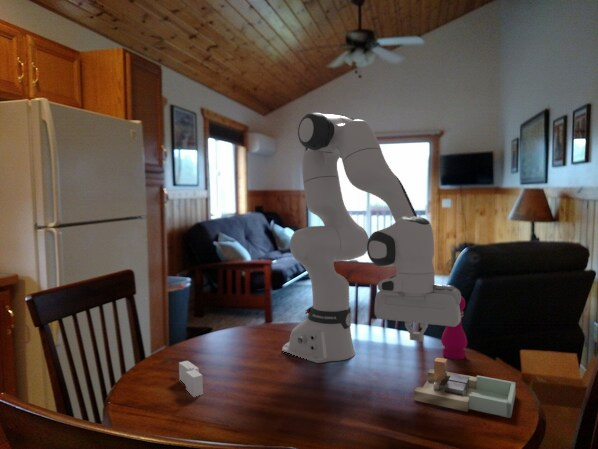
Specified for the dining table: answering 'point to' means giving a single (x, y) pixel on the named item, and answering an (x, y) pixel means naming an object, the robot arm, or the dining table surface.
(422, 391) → the slot board
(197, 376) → the white stepped block
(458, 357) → the pepper mill
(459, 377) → the dark grey block
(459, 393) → the chip
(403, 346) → the dining table surface
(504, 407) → the tray
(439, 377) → the block
